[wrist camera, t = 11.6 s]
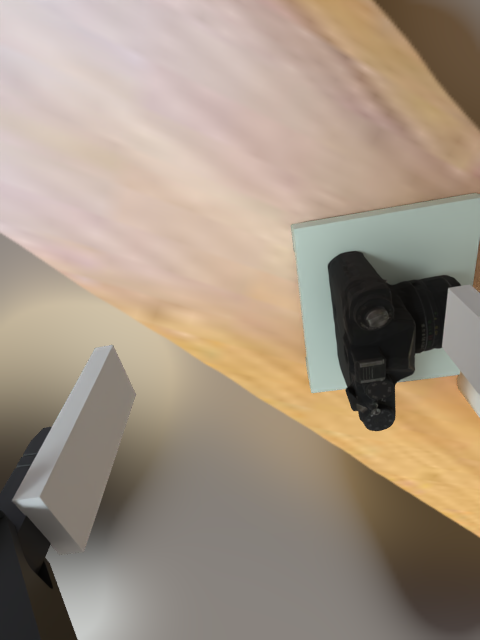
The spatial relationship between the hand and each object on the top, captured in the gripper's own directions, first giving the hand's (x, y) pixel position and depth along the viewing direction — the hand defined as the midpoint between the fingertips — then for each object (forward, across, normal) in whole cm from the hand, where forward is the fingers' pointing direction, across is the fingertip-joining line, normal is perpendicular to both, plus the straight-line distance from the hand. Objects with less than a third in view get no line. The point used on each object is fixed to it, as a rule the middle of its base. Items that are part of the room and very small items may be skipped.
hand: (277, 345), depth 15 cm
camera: (+20, +10, -12) cm, 25 cm away
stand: (+22, +11, -12) cm, 28 cm away
